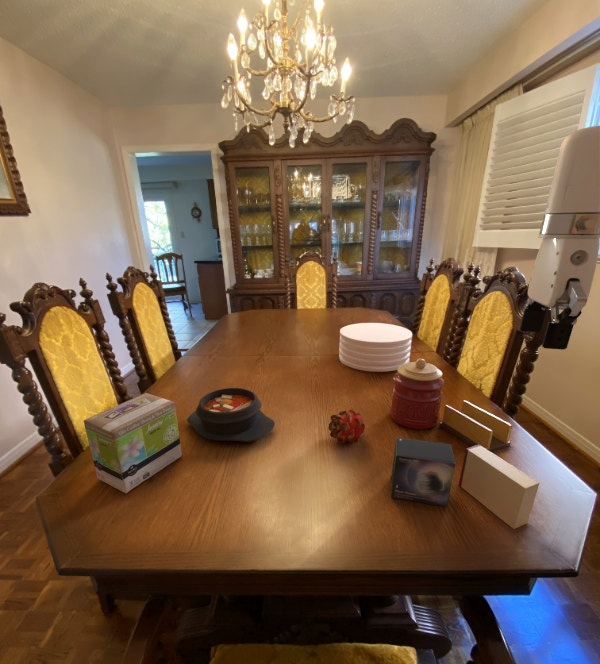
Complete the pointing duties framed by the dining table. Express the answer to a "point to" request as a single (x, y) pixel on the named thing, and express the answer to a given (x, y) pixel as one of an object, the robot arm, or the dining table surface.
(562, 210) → the robot arm
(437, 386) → the kitchen canister
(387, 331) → the plate stack
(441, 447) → the small box
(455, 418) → the rack
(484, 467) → the book
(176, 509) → the dining table surface
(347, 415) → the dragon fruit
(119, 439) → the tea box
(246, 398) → the casserole
